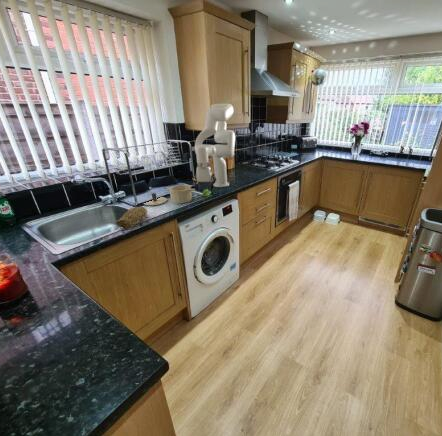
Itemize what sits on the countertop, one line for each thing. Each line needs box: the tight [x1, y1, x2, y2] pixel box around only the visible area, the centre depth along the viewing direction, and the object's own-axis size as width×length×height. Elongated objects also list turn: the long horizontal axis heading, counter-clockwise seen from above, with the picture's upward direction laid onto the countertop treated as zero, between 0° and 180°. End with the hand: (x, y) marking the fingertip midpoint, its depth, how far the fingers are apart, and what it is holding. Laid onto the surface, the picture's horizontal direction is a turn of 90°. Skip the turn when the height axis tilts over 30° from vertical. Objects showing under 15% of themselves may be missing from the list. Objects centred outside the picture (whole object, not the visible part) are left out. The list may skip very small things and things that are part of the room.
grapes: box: [201, 188, 212, 198], centre depth 171 cm, size 10×5×5 cm, turn 173°
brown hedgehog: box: [115, 206, 148, 230], centre depth 132 cm, size 13×8×20 cm
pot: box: [165, 184, 196, 204], centre depth 163 cm, size 14×19×8 cm
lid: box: [142, 192, 168, 206], centre depth 160 cm, size 15×15×6 cm
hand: (205, 189), depth 170 cm, fingers open, 9 cm apart
